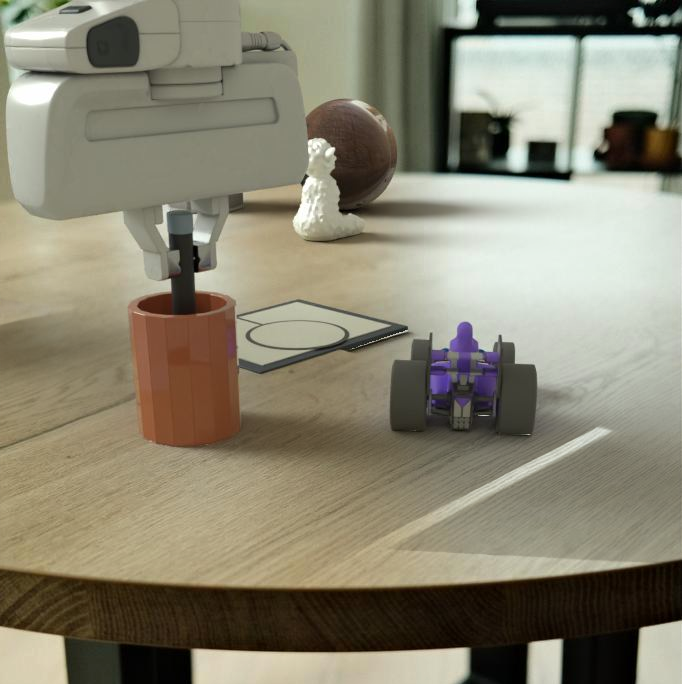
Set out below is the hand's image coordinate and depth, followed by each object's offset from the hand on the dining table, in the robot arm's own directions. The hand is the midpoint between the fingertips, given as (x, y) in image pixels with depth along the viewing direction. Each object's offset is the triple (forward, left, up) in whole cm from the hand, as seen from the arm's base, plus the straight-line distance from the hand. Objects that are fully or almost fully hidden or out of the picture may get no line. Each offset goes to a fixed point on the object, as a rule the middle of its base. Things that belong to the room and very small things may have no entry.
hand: (181, 274), depth 64 cm
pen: (0, 0, -10) cm, 10 cm away
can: (-69, +59, -11) cm, 92 cm away
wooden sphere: (-53, +72, -11) cm, 90 cm away
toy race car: (+10, +17, -11) cm, 22 cm away
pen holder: (0, 0, -11) cm, 11 cm away
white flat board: (-12, +20, -11) cm, 26 cm away
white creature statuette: (-41, +55, -11) cm, 70 cm away
